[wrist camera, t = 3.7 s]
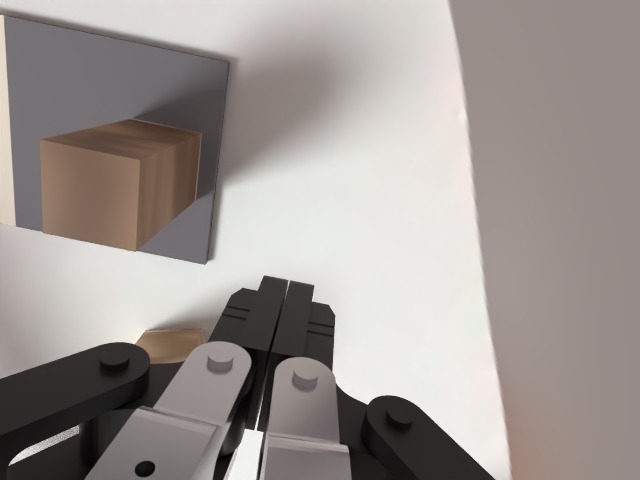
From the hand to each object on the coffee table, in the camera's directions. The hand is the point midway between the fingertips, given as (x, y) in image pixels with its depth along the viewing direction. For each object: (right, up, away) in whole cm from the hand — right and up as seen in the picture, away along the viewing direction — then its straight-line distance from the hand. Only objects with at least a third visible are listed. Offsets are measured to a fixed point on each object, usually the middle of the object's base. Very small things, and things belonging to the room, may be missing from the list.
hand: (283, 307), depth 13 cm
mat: (-14, +8, +13) cm, 20 cm away
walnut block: (-8, +6, +13) cm, 16 cm away
